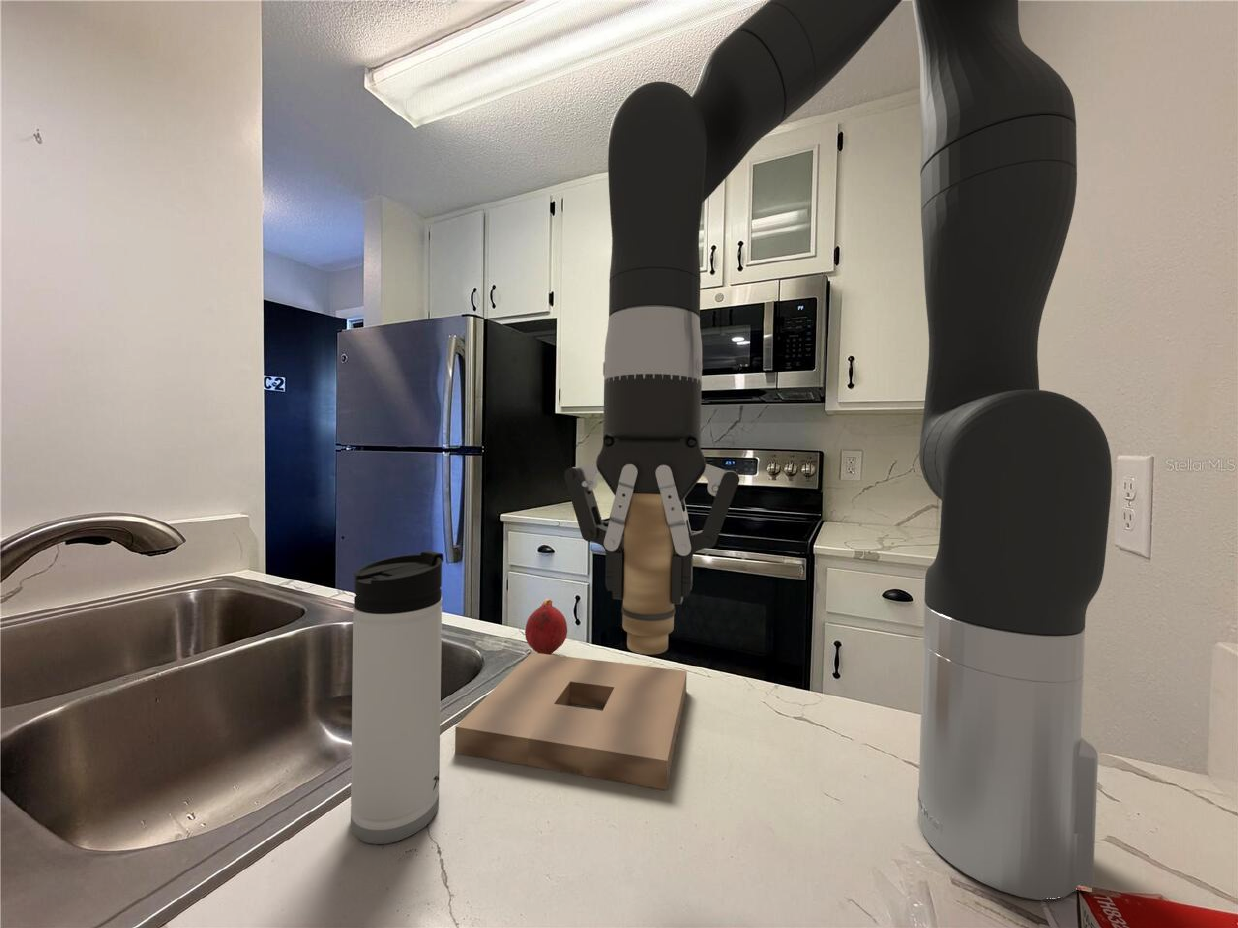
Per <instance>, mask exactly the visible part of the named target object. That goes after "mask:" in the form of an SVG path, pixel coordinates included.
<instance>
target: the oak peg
mask: <svg viewBox="0 0 1238 928" xmlns="http://www.w3.org/2000/svg"><path fill="white" fill-rule="evenodd" d="M669 498H670V495H669ZM672 509H673V510H674V508H673V507H672ZM675 551H676V550H675V546H674V542H673V538H672V534H671V530H670V527H669V525H668V521H667V517H666V513H665V509H664V505H663V501H662V497H661V494H644V493H633V494H632V497H631V501H630V506H629V510H628V514H627V519H626V523H625V529H624V567H623V599H622V605H621V613H622V620H621V621H622V622H621V624H622V625H621V627H622V629H623V630H624V632H626V633H627V635H626V645H627V649H628V650H629V651H631V652H633V653H635V654H640V655H647V656H648V655H659V654H663V653H665V652H667V650H668V649H669V634H671V633H673V631H674V627H675V615H676V606H675V604H672V558H673V555H674V554H675Z"/></svg>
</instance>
